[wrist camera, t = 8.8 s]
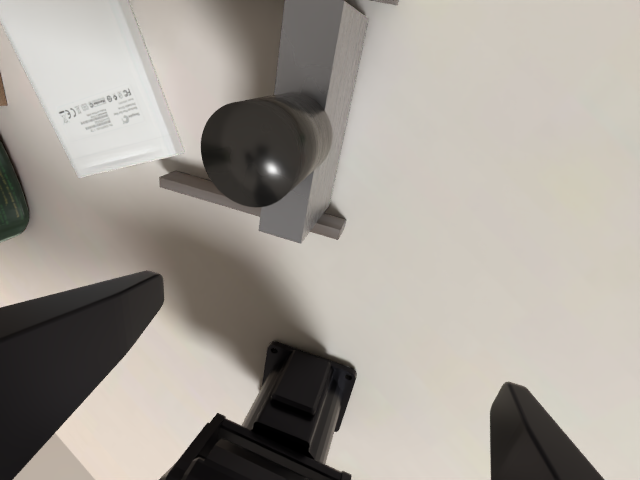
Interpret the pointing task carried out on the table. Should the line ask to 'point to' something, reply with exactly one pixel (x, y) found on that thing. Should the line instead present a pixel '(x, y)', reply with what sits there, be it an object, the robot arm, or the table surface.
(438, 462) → the table surface
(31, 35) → the external hard drive
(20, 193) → the coffee jar
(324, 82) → the clamp jaw
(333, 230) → the base
